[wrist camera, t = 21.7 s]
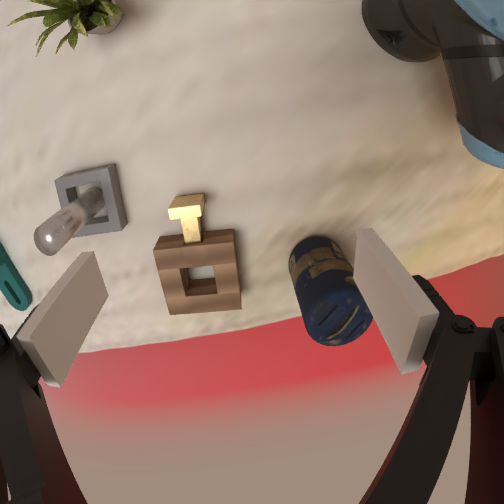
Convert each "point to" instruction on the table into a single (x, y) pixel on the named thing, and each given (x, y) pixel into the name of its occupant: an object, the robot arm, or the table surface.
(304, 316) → the canister
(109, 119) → the table surface
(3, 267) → the bracket
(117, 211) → the grey square frame
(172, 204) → the yellow t-shaped block
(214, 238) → the socket block
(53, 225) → the grey rounded rod
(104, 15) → the house plant
